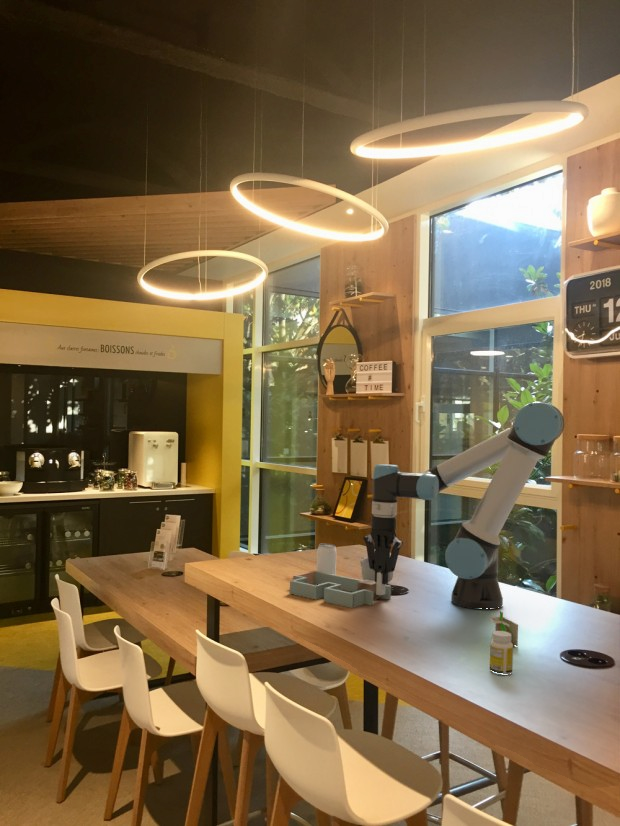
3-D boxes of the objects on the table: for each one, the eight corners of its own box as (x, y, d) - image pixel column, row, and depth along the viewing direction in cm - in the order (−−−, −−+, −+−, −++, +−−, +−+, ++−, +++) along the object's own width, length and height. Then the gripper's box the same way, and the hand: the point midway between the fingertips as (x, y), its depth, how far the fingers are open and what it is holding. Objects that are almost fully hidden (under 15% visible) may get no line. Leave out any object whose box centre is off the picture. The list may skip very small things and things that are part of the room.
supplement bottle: (508, 668, 154) (509, 630, 154) (515, 676, 149) (516, 637, 149) (486, 668, 153) (488, 629, 154) (493, 675, 149) (494, 636, 149)
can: (335, 579, 237) (337, 543, 237) (334, 583, 231) (336, 547, 231) (316, 578, 238) (318, 542, 238) (315, 582, 231) (316, 546, 231)
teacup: (398, 586, 230) (399, 562, 230) (369, 588, 226) (370, 563, 226) (379, 577, 243) (380, 554, 243) (351, 579, 239) (351, 555, 239)
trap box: (390, 599, 212) (391, 585, 212) (359, 609, 198) (359, 595, 199) (313, 582, 230) (313, 570, 230) (279, 591, 216) (280, 578, 216)
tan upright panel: (502, 649, 168) (503, 616, 168) (488, 641, 175) (489, 609, 175) (517, 649, 169) (518, 616, 169) (502, 640, 176) (503, 608, 176)
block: (379, 598, 213) (380, 582, 213) (370, 601, 209) (371, 584, 209) (365, 595, 216) (366, 579, 216) (356, 598, 212) (357, 581, 212)
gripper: (359, 514, 211) (355, 592, 211) (395, 519, 203) (392, 600, 203) (373, 512, 217) (369, 588, 217) (409, 517, 209) (405, 596, 208)
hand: (380, 594), depth 210 cm, fingers closed
